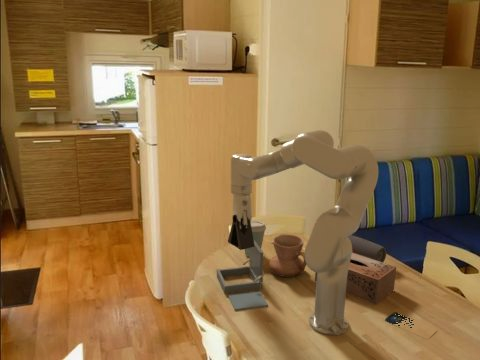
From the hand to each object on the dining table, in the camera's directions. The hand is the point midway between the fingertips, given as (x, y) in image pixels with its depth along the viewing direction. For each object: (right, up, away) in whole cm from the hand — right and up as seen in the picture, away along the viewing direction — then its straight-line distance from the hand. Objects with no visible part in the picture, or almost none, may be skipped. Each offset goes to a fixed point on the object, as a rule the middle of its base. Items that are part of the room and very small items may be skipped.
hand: (241, 236), depth 167 cm
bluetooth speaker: (+50, -14, +30) cm, 60 cm away
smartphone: (+55, -28, -18) cm, 65 cm away
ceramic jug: (+19, -17, +17) cm, 31 cm away
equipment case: (-1, -19, +8) cm, 21 cm away
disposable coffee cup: (+5, -12, +34) cm, 36 cm away
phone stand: (0, -3, +1) cm, 4 cm away
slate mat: (+2, -23, -5) cm, 23 cm away
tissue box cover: (+43, -20, +7) cm, 49 cm away
